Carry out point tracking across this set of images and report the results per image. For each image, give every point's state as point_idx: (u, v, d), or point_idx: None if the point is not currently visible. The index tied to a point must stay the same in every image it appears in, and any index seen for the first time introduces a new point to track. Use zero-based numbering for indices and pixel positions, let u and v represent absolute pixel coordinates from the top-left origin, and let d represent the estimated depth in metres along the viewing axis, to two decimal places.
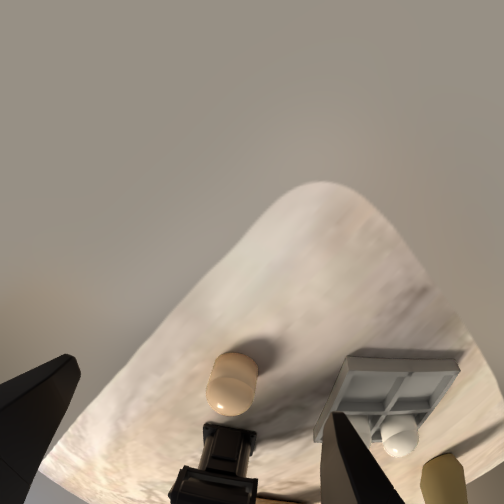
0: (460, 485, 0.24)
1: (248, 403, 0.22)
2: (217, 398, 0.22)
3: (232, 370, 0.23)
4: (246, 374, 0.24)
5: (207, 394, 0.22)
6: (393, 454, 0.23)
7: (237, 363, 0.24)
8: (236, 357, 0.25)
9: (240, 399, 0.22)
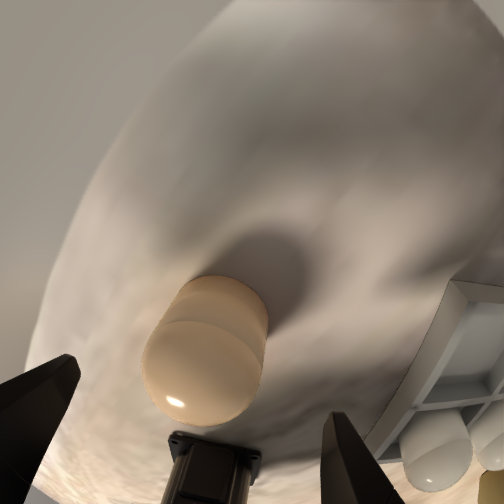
0: None
1: (246, 394, 0.08)
2: (161, 375, 0.08)
3: (206, 306, 0.10)
4: (241, 318, 0.10)
5: (142, 367, 0.09)
6: (496, 467, 0.09)
7: (220, 294, 0.10)
8: (218, 283, 0.11)
9: (223, 381, 0.08)
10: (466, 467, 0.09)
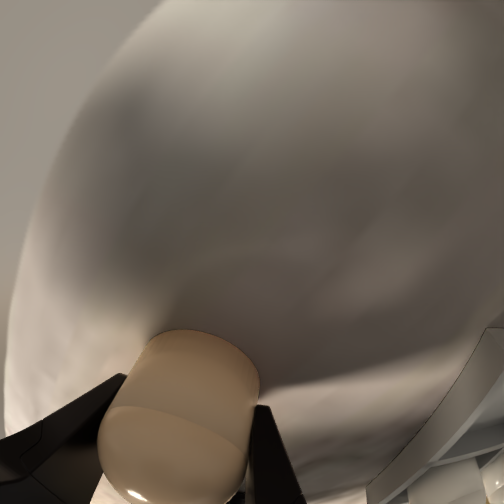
0: None
1: (226, 494, 0.05)
2: (116, 473, 0.05)
3: (172, 384, 0.07)
4: (220, 400, 0.07)
5: (97, 450, 0.06)
6: None
7: (192, 363, 0.07)
8: (192, 343, 0.08)
9: (194, 489, 0.05)
10: None
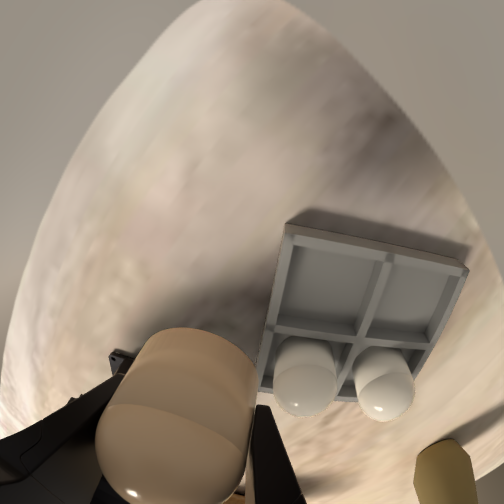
0: (468, 480, 0.17)
1: (224, 493, 0.05)
2: (113, 471, 0.05)
3: (170, 382, 0.07)
4: (218, 398, 0.07)
5: (95, 449, 0.06)
6: (374, 414, 0.16)
7: (191, 360, 0.07)
8: (190, 341, 0.08)
9: (192, 487, 0.05)
10: (323, 394, 0.16)
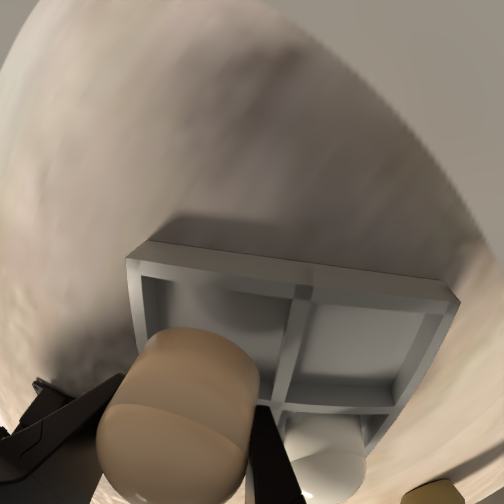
0: None
1: (226, 494, 0.05)
2: (114, 471, 0.05)
3: (171, 382, 0.06)
4: (220, 398, 0.07)
5: (96, 449, 0.05)
6: None
7: (192, 360, 0.07)
8: (191, 341, 0.08)
9: (194, 487, 0.05)
10: None
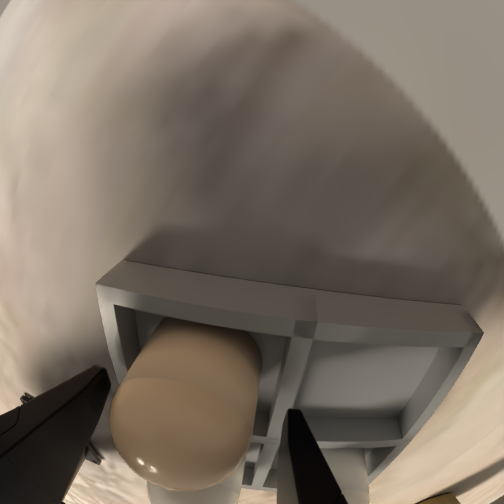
0: None
1: (232, 463, 0.06)
2: (128, 442, 0.05)
3: (182, 357, 0.07)
4: (227, 372, 0.07)
5: (109, 424, 0.06)
6: None
7: (201, 338, 0.08)
8: None
9: (203, 455, 0.06)
10: None
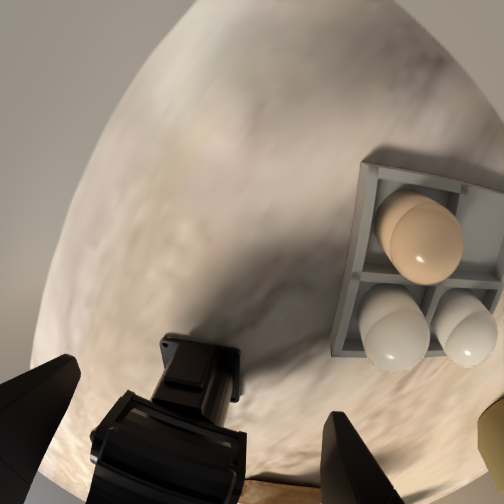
0: None
1: (463, 247, 0.12)
2: (430, 231, 0.11)
3: (426, 199, 0.13)
4: None
5: (405, 237, 0.12)
6: (466, 358, 0.14)
7: (424, 195, 0.14)
8: (415, 191, 0.15)
9: (459, 233, 0.11)
10: (422, 339, 0.14)
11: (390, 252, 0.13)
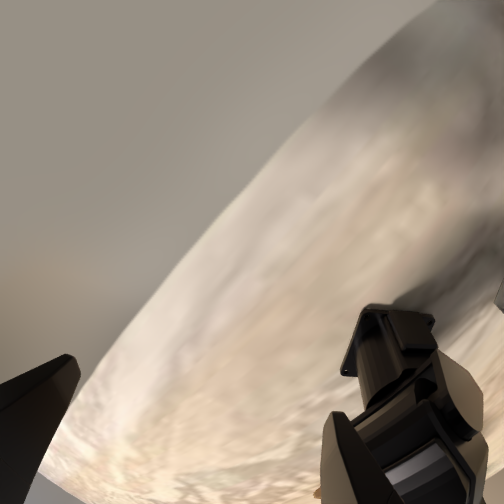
0: None
1: None
2: None
3: None
4: None
5: None
6: None
7: None
8: None
9: None
10: None
11: None
